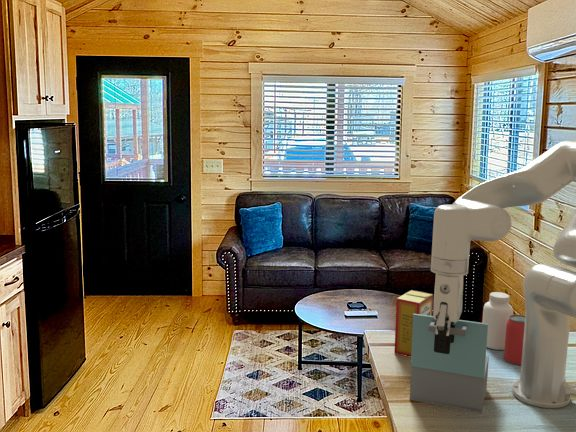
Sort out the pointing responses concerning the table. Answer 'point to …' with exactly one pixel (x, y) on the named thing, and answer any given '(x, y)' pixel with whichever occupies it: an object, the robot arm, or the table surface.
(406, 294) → the baking soda box
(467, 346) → the lid
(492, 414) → the table surface
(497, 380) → the table surface
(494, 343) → the pill bottle
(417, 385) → the carton
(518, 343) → the beer can
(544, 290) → the robot arm
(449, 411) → the table surface
